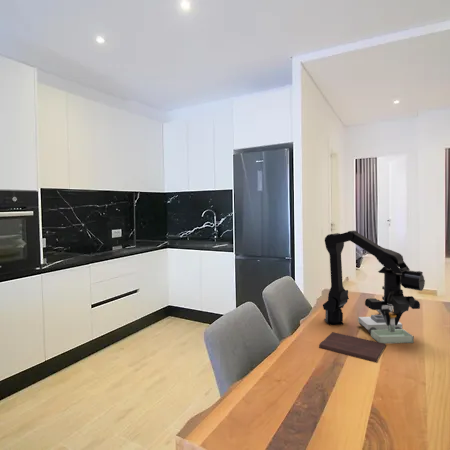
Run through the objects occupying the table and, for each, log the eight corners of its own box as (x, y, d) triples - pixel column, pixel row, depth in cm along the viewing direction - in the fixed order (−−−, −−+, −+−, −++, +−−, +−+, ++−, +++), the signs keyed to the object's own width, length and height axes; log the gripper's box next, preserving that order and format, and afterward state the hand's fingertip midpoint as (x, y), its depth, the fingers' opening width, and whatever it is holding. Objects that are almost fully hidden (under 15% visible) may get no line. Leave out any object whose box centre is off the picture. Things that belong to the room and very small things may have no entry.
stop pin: (389, 332, 124) (389, 315, 124) (385, 329, 128) (385, 312, 127) (398, 332, 124) (398, 315, 124) (393, 329, 128) (393, 312, 127)
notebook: (332, 335, 132) (332, 330, 132) (385, 347, 120) (385, 342, 120) (319, 349, 120) (319, 344, 120) (376, 364, 108) (376, 358, 108)
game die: (389, 325, 150) (402, 311, 144) (371, 318, 150) (384, 305, 144) (385, 310, 157) (397, 297, 152) (368, 304, 157) (380, 290, 152)
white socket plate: (368, 334, 131) (368, 321, 130) (358, 325, 140) (358, 313, 140) (402, 333, 131) (402, 320, 130) (390, 325, 140) (390, 312, 140)
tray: (379, 343, 122) (379, 337, 122) (370, 336, 129) (370, 329, 129) (413, 342, 123) (413, 336, 122) (403, 335, 130) (403, 329, 129)
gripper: (378, 291, 116) (377, 334, 118) (430, 290, 117) (428, 333, 118) (364, 284, 128) (364, 322, 129) (411, 283, 128) (410, 321, 129)
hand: (391, 325), depth 126 cm, fingers closed on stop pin, 3 cm apart
